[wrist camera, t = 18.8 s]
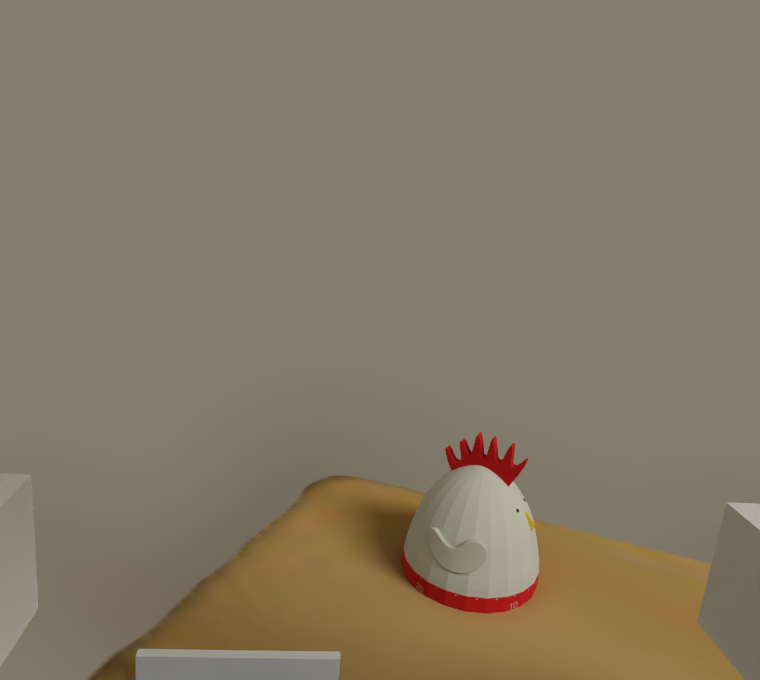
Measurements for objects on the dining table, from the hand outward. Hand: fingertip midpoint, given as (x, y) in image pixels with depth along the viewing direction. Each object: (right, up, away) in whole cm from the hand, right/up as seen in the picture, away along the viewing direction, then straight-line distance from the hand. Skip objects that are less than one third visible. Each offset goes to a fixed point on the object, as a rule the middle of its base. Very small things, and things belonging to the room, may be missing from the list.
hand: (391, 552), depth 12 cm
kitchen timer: (+9, -20, +55) cm, 59 cm away
